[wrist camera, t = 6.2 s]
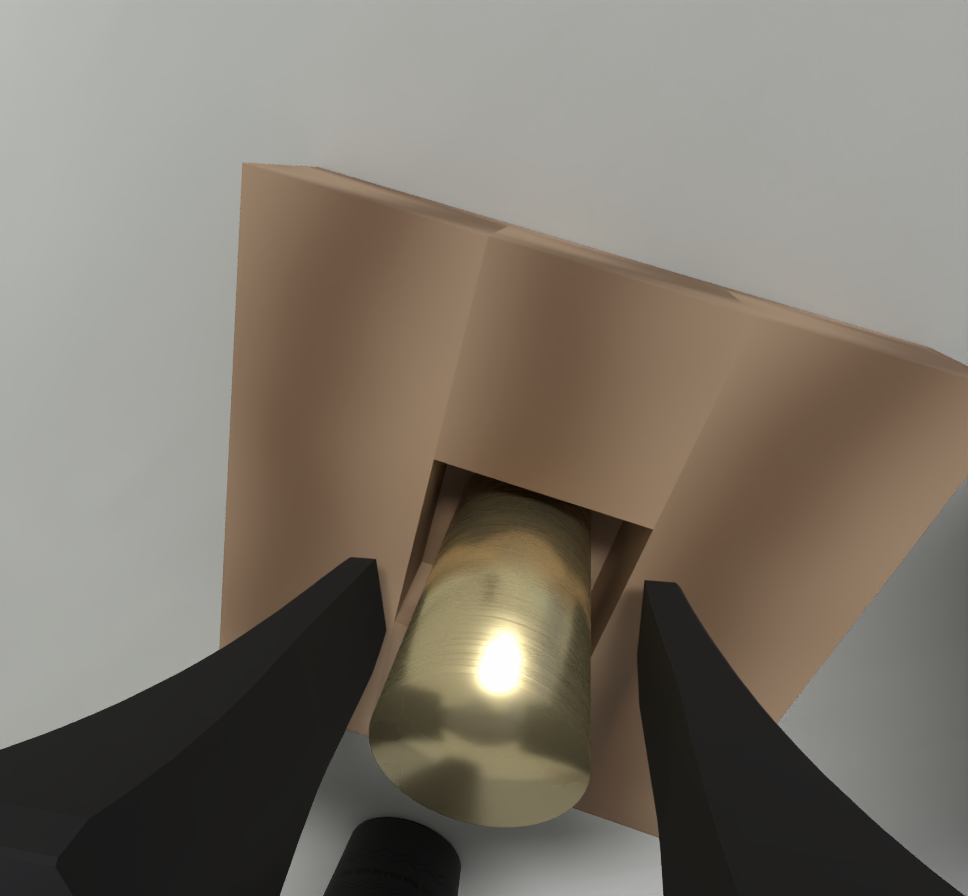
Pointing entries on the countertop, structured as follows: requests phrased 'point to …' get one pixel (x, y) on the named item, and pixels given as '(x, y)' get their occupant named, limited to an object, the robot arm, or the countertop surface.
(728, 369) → the socket block
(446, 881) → the drinking cup
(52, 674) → the countertop surface
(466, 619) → the pin
